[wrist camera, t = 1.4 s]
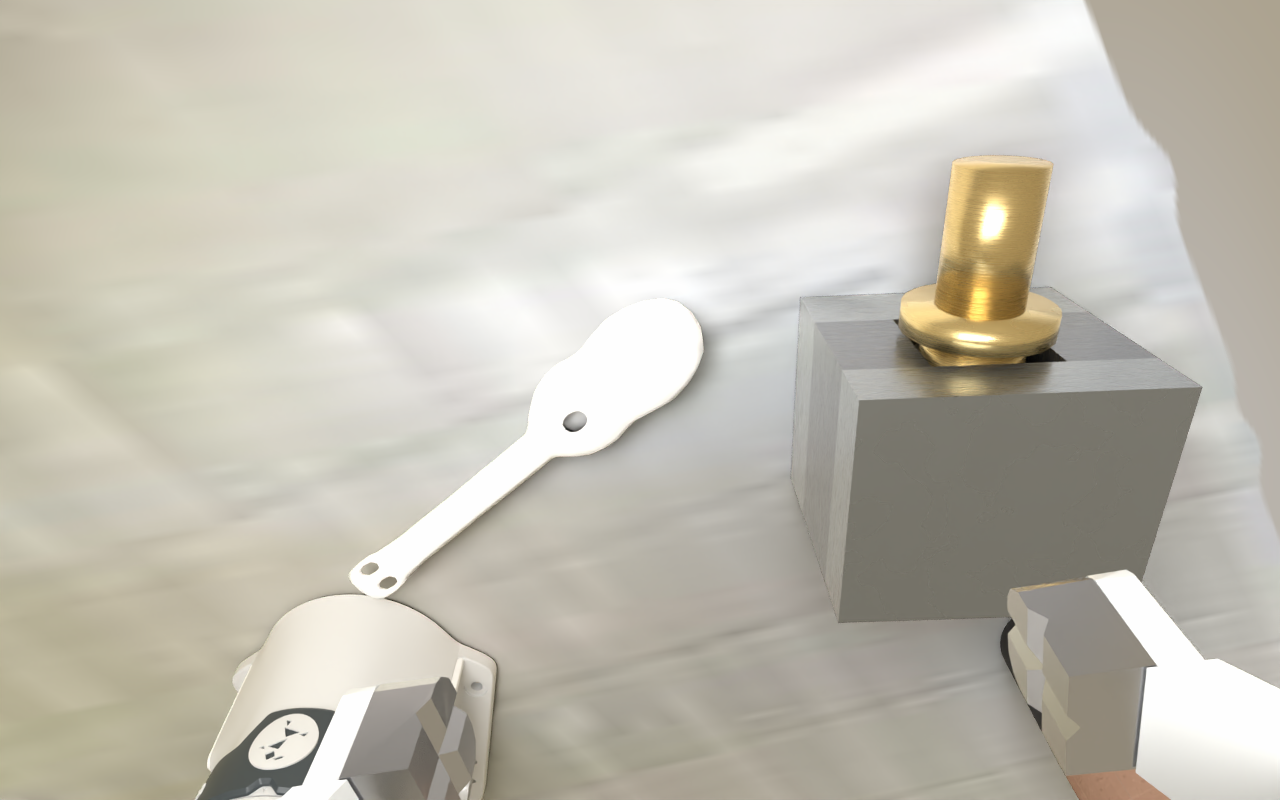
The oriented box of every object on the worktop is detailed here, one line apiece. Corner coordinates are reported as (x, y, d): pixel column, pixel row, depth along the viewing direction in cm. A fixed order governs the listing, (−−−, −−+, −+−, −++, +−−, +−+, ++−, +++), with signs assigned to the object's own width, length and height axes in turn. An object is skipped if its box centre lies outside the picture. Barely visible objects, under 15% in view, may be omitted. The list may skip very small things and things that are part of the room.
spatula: (406, 589, 53) (393, 618, 51) (340, 538, 51) (323, 566, 49) (722, 340, 44) (727, 361, 42) (657, 268, 43) (657, 285, 40)
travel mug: (979, 622, 54) (1147, 922, 36) (1086, 576, 52) (1318, 867, 35) (1017, 690, 57) (1189, 997, 39) (1120, 648, 55) (1350, 951, 37)
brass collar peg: (993, 429, 43) (1053, 498, 37) (868, 433, 43) (906, 504, 37) (1045, 147, 37) (1129, 174, 30) (896, 153, 37) (949, 182, 30)
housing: (1013, 470, 49) (1131, 612, 37) (790, 478, 49) (838, 622, 37) (1050, 287, 43) (1202, 387, 32) (800, 297, 44) (859, 400, 32)
